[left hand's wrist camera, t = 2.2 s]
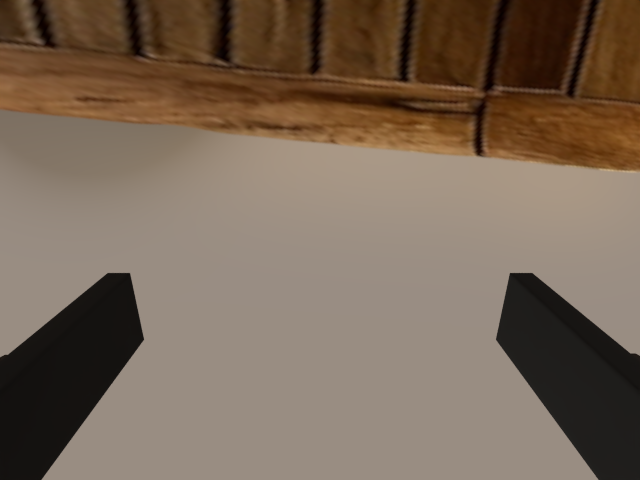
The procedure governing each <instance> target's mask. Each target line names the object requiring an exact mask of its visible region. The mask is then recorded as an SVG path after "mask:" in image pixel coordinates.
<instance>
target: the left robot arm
mask: <svg viewBox="0 0 640 480" xmlns="http://www.w3.org/2000/svg"><path fill="white" fill-rule="evenodd" d="M143 340H144V337H143V333H142V328H141V323H140V318H139V314H138V309H137V304H136V299H135V295H134V290H133V285H132V280H131V276H130V273H107V274H106V275H105V276H104V277H102V278H101V279H100V280H99V281H98V282H96V283H95V284H94V285H93V286H92V287H90V288H89V289H88V290H87V291H85V292H84V293H83V294H82V295H80V296H79V297H78V298H77V299H76V300H74V301H73V302H72V303H71V304H69V305H68V306H67V307H66V308H65V309H63V310H62V311H61V312H60V313H58V314H57V315H56V316H55V317H54V318H52V319H51V320H50V321H49V322H47V323H46V324H45V325H44V326H43V327H41V328H40V329H39V330H38V331H36V332H35V333H34V334H33V335H32V336H30V337H29V338H28V339H27V340H26V341H24V342H23V343H22V344H21V345H19V346H18V347H17V348H16V349H15V350H13V351H12V352H11V353H10V354H8V355H4V356H2V357H0V480H42V478H43V477H44V475H45V474H46V473H47V471H48V470H49V469H50V467H51V466H52V465H53V463H54V462H55V460H56V459H57V458H58V456H59V455H60V454H61V452H62V451H63V449H64V448H65V447H66V445H67V444H68V443H69V441H70V440H71V438H72V437H73V436H74V434H75V433H76V432H77V430H78V429H79V428H80V426H81V425H82V424H83V422H84V421H85V419H86V418H87V417H88V415H89V414H90V413H91V411H92V410H93V409H94V407H95V406H96V404H97V403H98V402H99V400H100V399H101V398H102V396H103V395H104V393H105V392H106V391H107V389H108V388H109V387H110V385H111V384H112V383H113V381H114V380H115V378H116V377H117V376H118V374H119V373H120V372H121V370H122V369H123V368H124V366H125V365H126V363H127V362H128V361H129V359H130V358H131V357H132V355H133V354H134V353H135V351H136V350H137V348H138V347H139V346H140V344H141V343H142V342H143ZM496 340H497V342H498V343H499V344H500V346H501V347H502V348H503V350H504V351H505V353H506V354H507V355H508V357H509V358H510V359H511V361H512V362H513V363H514V365H515V366H516V368H517V369H518V370H519V372H520V373H521V374H522V376H523V377H524V378H525V380H526V381H527V382H528V384H529V385H530V387H531V388H532V389H533V391H534V392H535V393H536V395H537V396H538V398H539V399H540V400H541V402H542V403H543V404H544V406H545V407H546V408H547V410H548V411H549V413H550V414H551V415H552V417H553V418H554V419H555V421H556V422H557V423H558V425H559V426H560V428H561V429H562V430H563V432H564V433H565V434H566V436H567V437H568V438H569V440H570V441H571V443H572V444H573V445H574V447H575V448H576V449H577V451H578V452H579V454H580V455H581V456H582V458H583V459H584V460H585V462H586V463H587V465H588V466H589V467H590V469H591V470H592V471H593V473H594V474H595V475H596V477H597V478H598V480H640V356H639V355H637V354H630V353H629V352H628V351H627V350H625V349H624V348H623V347H622V346H621V345H619V344H618V343H617V342H616V341H614V340H613V339H612V338H611V337H610V336H608V335H607V334H606V333H605V332H603V331H602V330H601V329H600V328H599V327H597V326H596V325H595V324H594V323H593V322H591V321H590V320H589V319H587V318H586V317H585V316H584V315H583V314H582V313H580V312H579V311H578V310H577V309H575V308H574V307H573V306H572V305H570V304H569V303H568V302H567V301H566V300H564V299H563V298H562V297H561V296H560V295H558V294H557V293H556V292H555V291H553V290H552V289H551V288H550V287H549V286H547V285H546V284H545V283H544V282H542V281H541V280H540V279H539V278H538V277H536V276H535V275H534V274H533V273H510V276H509V280H508V285H507V290H506V295H505V299H504V304H503V309H502V314H501V319H500V323H499V328H498V333H497V337H496Z"/></svg>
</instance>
